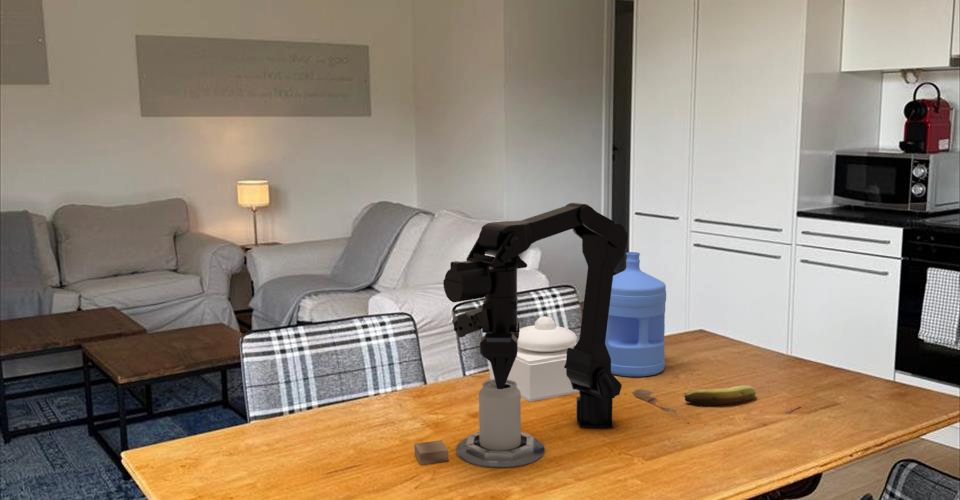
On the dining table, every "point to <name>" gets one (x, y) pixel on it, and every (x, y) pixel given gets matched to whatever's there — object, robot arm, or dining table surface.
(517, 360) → the butter dish
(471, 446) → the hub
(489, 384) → the can
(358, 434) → the dining table surface
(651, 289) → the water jug
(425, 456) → the walnut block
